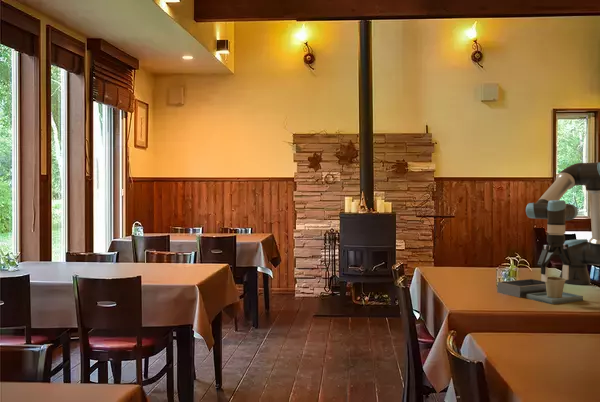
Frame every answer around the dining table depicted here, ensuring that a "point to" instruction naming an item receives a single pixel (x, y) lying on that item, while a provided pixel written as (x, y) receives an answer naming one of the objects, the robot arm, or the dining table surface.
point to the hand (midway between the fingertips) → (554, 280)
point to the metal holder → (521, 287)
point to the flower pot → (555, 287)
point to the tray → (543, 298)
